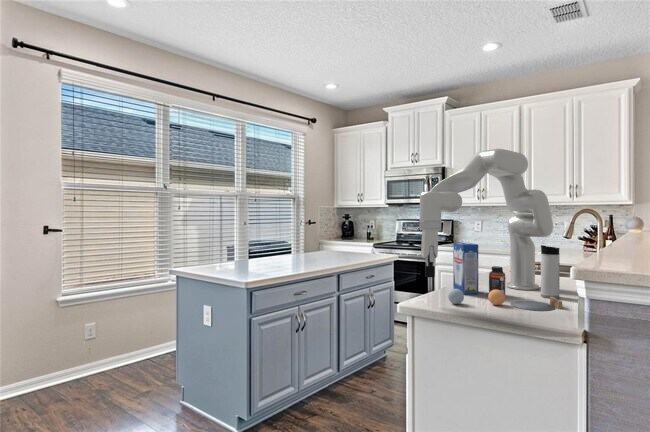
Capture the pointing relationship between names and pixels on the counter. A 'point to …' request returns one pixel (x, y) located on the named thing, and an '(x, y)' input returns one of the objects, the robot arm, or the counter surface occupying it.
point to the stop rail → (556, 302)
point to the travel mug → (550, 271)
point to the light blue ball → (455, 296)
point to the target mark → (532, 305)
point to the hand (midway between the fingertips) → (429, 276)
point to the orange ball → (496, 297)
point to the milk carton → (465, 268)
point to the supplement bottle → (497, 279)
